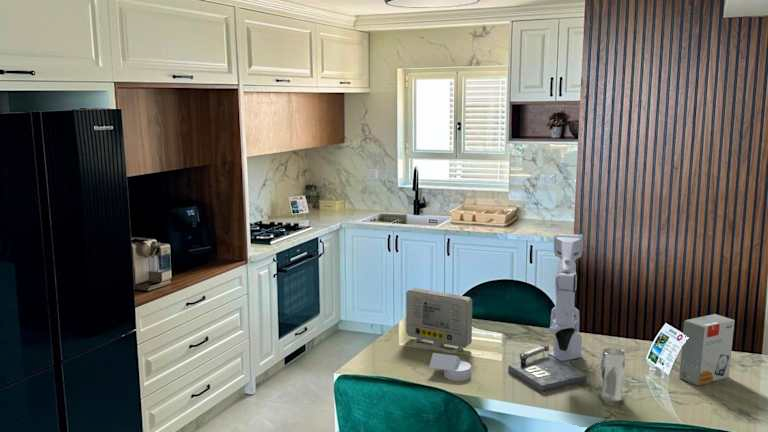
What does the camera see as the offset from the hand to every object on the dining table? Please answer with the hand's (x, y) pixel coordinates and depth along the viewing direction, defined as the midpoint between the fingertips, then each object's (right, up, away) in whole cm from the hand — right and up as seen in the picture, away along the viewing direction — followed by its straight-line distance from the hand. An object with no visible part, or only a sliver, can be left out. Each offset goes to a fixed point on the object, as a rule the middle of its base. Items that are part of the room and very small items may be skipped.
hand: (563, 349), depth 217 cm
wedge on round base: (-36, -10, +7) cm, 38 cm away
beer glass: (+12, -13, -11) cm, 21 cm away
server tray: (-4, -10, +4) cm, 12 cm away
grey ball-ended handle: (-7, -4, +12) cm, 14 cm away
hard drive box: (+47, -10, +3) cm, 48 cm away
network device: (-38, -5, +33) cm, 51 cm away
